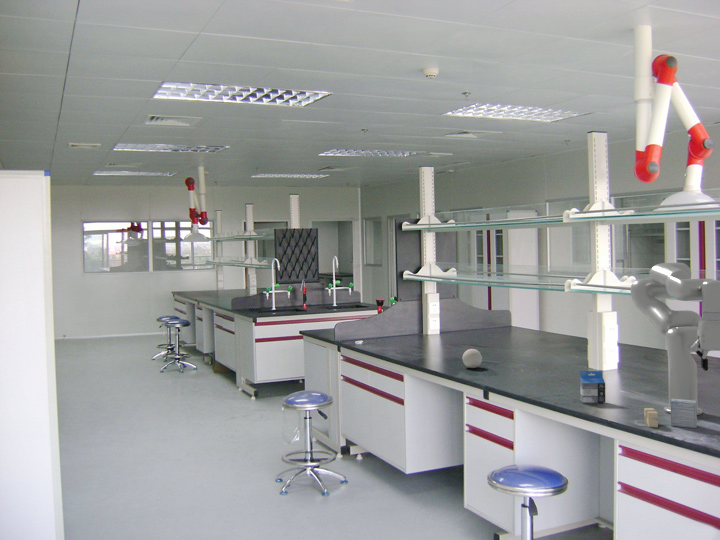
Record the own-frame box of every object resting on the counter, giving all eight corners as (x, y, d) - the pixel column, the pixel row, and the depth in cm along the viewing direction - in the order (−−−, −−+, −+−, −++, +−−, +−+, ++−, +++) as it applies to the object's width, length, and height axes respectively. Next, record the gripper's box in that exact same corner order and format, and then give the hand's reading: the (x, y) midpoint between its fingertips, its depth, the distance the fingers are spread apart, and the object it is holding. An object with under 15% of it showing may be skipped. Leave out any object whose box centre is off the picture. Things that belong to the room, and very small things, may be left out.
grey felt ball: (461, 366, 340) (461, 347, 340) (480, 366, 340) (480, 347, 339) (463, 370, 330) (463, 350, 330) (483, 369, 330) (483, 350, 329)
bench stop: (644, 422, 226) (644, 408, 225) (653, 422, 225) (653, 408, 225) (648, 427, 220) (648, 412, 220) (657, 427, 219) (657, 412, 219)
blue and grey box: (582, 403, 254) (582, 372, 254) (580, 401, 258) (579, 371, 258) (605, 403, 253) (605, 372, 253) (603, 401, 257) (602, 370, 257)
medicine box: (697, 425, 220) (696, 400, 220) (696, 428, 216) (696, 403, 216) (671, 422, 224) (671, 398, 224) (670, 426, 220) (670, 401, 220)
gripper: (737, 315, 219) (738, 368, 220) (683, 315, 223) (684, 367, 223) (746, 318, 212) (747, 372, 212) (690, 318, 215) (691, 372, 216)
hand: (714, 369), depth 218 cm, fingers open, 5 cm apart
